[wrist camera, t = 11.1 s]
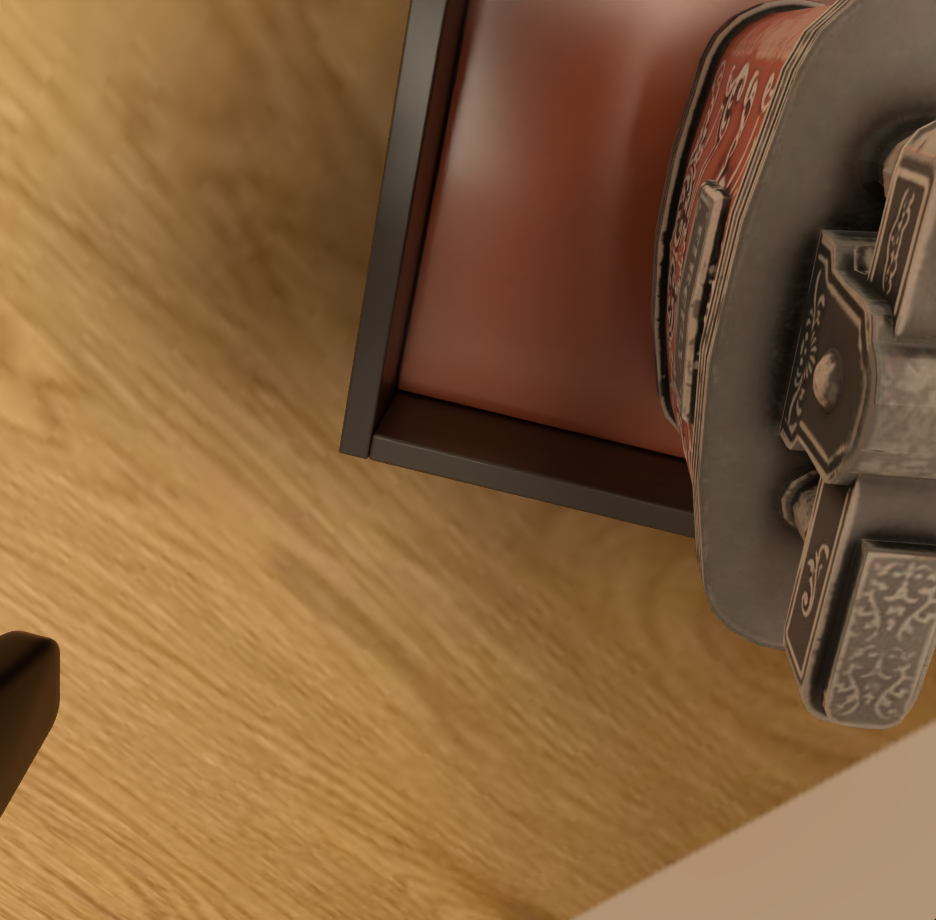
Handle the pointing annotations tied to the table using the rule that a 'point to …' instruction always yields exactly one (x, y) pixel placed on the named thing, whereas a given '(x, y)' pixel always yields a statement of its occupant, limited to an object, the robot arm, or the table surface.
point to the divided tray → (529, 252)
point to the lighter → (810, 341)
